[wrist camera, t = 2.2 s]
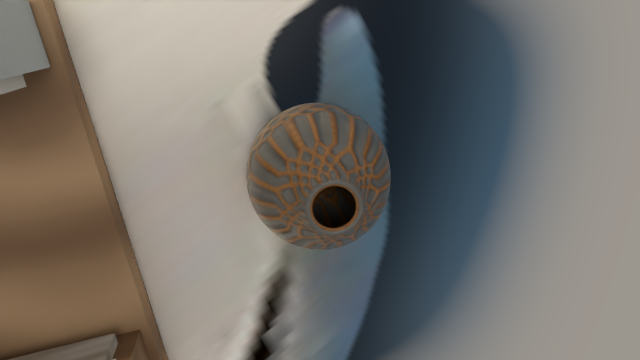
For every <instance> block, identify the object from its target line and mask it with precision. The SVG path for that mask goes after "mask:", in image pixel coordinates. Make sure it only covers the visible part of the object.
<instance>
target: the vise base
mask: <svg viewBox="0 0 640 360" xmlns="http://www.w3.org/2000/svg"><path fill="white" fill-rule="evenodd" d="M27 1H29V4H30V7H31V10H32V13H33V16H34V19H35V22H36V25H37V28H38V31H39V34H40V37H41V40H42V43H43V46H44V49H45V52H46V55H47V58H48V61H49V64H50V67H49V68H45V69H41V70H37V71H33V72H29V73H25V74H23V77H24V80H25V83H26V86H27V87H24V88H20V89H17V90H14V91H11V92H7V93H4V94H1V95H0V360H113V359H116V360H168V358H167V355H166V352H165V349H164V346H163V343H162V339H161V336H160V333H159V330H158V327H157V324H156V321H155V318H154V315H153V311H152V308H151V305H150V302H149V299H148V296H147V293H146V290H145V287H144V283H143V280H142V277H141V274H140V271H139V268H138V265H137V262H136V259H135V255H134V252H133V249H132V246H131V243H130V240H129V237H128V234H127V230H126V227H125V224H124V221H123V218H122V215H121V212H120V209H119V206H118V202H117V199H116V196H115V193H114V190H113V187H112V184H111V181H110V178H109V174H108V171H107V168H106V165H105V162H104V159H103V156H102V153H101V149H100V146H99V143H98V140H97V137H96V134H95V131H94V128H93V125H92V121H91V118H90V115H89V112H88V109H87V106H86V103H85V100H84V97H83V93H82V90H81V87H80V84H79V81H78V78H77V75H76V72H75V68H74V65H73V62H72V59H71V56H70V53H69V50H68V47H67V44H66V40H65V37H64V34H63V31H62V28H61V25H60V22H59V19H58V16H57V12H56V9H55V6H54V3H53V0H27Z"/></svg>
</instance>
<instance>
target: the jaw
mask: <svg viewBox="0 0 640 360" xmlns="http://www.w3.org/2000/svg"><path fill="white" fill-rule="evenodd" d="M49 67H50V64H49V61H48V58H47V55H46V52H45V49H44V46H43V43H42V40H41V37H40V34H39V31H38V28H37V25H36V22H35V19H34V16H33V13H32V10H31V7H30V4H29V1H27V0H0V95H1V94H4V93H7V92H11V91H14V90H17V89H20V88H24V87H27V86H26V83H25V80H24V77H23V74H25V73H29V72H33V71H37V70H41V69H45V68H49Z"/></svg>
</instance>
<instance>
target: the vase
mask: <svg viewBox="0 0 640 360" xmlns="http://www.w3.org/2000/svg"><path fill="white" fill-rule="evenodd" d="M390 177H391V175H390V166H389V160H388V156H387V153H386V151H385V148H384V146H383V144H382V142H381V140H380V138H379V137H378V135H377V134H376V133H375V131H374V130H373V129H372V128H371V127H370V126H369V125H368V124H367V123H366V122H365V121H364V120H363V119H362V118H360V117H359V116H357V115H356V114H354V113H352V112H351V111H349V110H347V109H344V108H342V107H339V106H335V105H332V104H326V103H307V104H301V105H298V106H295V107H292V108H289V109H287V110H285V111H283V112H281V113H280V114H278V115H277V116H275V117H274V118H273V119H271V120H270V121H269V122H268V123H267V124H266V125H265V126H264V127H263V129H262V130H261V131H260V133H259V134H258V136H257V137H256V139H255V141H254V143H253V145H252V148H251V151H250V154H249V157H248V162H247V174H246V178H247V187H248V192H249V196H250V199H251V202H252V205H253V207H254V209H255V211H256V212H257V214H258V216H259V217H260V219H261V220H262V221H263V222H264V224H265V225H266V226H267V227H268V228H269V229H270V230H271V231H272V232H274V233H275V234H276V235H278V236H279V237H280V238H282V239H284V240H286V241H287V242H289V243H292V244H294V245H297V246H300V247H304V248H308V249H332V248H337V247H340V246H343V245H346V244H348V243H350V242H353V241H354V240H356V239H358V238H359V237H361V236H362V235H363V234H365V233H366V232H367V231H368V230H369V229H370V228H371V227H372V226H373V225H374V224H375V222H376V221H377V220H378V218H379V217H380V215H381V213H382V211H383V209H384V207H385V205H386V202H387V199H388V195H389V190H390Z"/></svg>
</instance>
